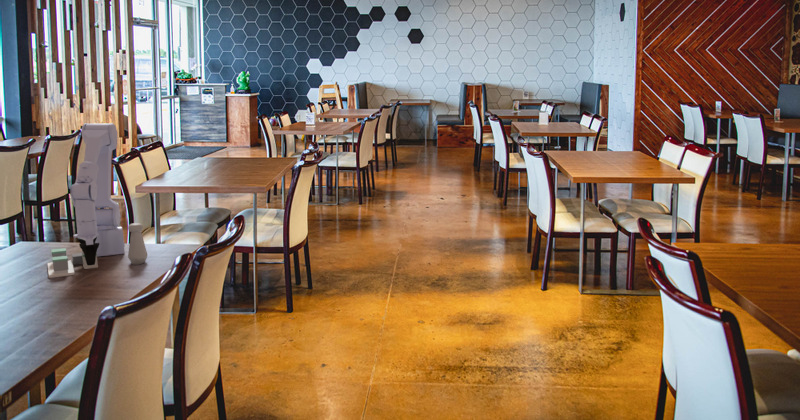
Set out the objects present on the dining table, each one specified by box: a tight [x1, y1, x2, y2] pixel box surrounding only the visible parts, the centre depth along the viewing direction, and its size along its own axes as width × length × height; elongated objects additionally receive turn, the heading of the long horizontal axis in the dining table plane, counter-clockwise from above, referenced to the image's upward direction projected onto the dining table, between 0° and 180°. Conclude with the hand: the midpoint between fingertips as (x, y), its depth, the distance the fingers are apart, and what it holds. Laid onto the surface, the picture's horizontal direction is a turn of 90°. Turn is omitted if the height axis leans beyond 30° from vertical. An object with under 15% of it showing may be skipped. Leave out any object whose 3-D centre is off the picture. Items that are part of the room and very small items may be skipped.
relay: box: [71, 252, 83, 266], centre depth 219 cm, size 6×4×3 cm, turn 120°
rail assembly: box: [47, 247, 75, 279], centre depth 210 cm, size 7×15×5 cm, turn 28°
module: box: [81, 250, 99, 270], centre depth 214 cm, size 4×4×5 cm
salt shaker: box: [127, 222, 148, 265], centre depth 217 cm, size 6×6×13 cm
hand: (90, 261), depth 214 cm, fingers open, 7 cm apart
